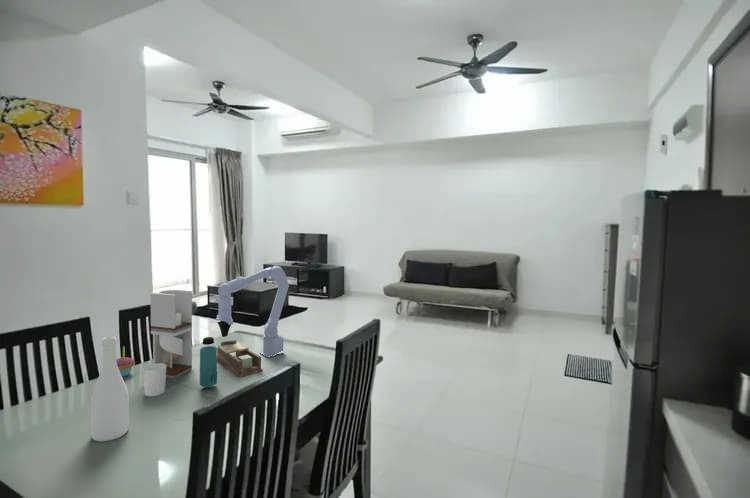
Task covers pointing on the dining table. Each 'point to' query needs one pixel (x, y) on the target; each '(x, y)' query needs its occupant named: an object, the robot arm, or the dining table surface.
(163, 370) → the white cup
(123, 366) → the cupcake
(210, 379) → the beverage bottle
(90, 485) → the dining table surface
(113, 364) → the wine bottle
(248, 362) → the block
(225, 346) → the lid
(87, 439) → the dining table surface
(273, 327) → the robot arm
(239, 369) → the brown wooden box
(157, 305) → the white tiered shelf
